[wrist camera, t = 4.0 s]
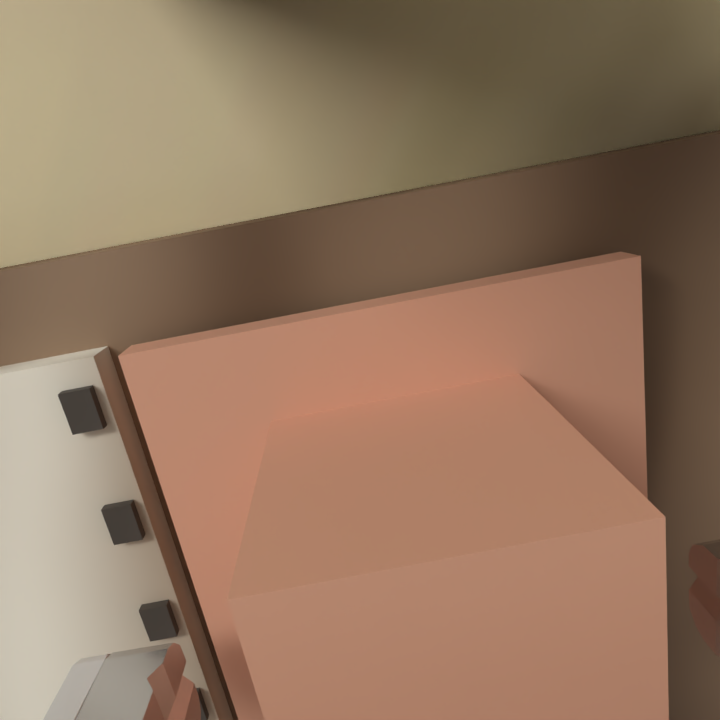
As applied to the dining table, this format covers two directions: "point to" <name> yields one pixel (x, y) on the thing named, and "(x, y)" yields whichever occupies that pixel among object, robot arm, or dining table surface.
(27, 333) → the ticket board
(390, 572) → the stub
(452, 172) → the dining table surface
